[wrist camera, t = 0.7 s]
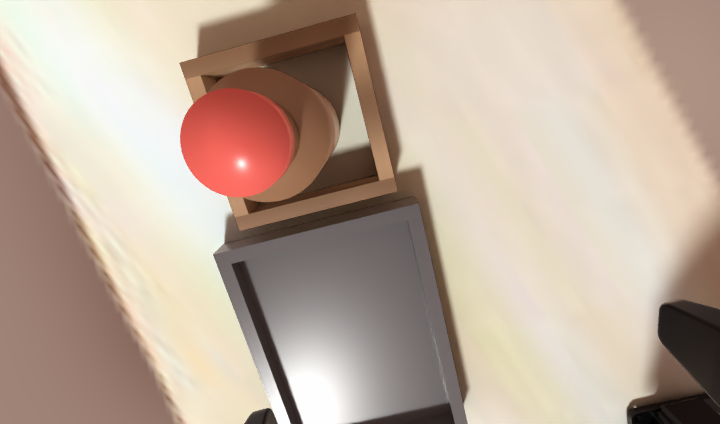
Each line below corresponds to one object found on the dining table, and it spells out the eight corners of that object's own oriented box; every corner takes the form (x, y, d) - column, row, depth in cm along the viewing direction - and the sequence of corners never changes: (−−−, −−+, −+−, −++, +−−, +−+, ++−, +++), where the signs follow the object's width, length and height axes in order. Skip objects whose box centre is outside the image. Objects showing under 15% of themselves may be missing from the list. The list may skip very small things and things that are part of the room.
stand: (393, 184, 22) (397, 191, 20) (249, 220, 22) (239, 230, 20) (355, 23, 20) (355, 13, 18) (196, 67, 20) (179, 62, 18)
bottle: (348, 157, 21) (339, 204, 10) (273, 177, 22) (185, 243, 11) (327, 76, 20) (291, 31, 9) (247, 98, 21) (120, 79, 9)
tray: (461, 410, 26) (469, 431, 24) (298, 445, 27) (295, 468, 25) (413, 196, 22) (418, 203, 20) (224, 243, 23) (213, 254, 21)
